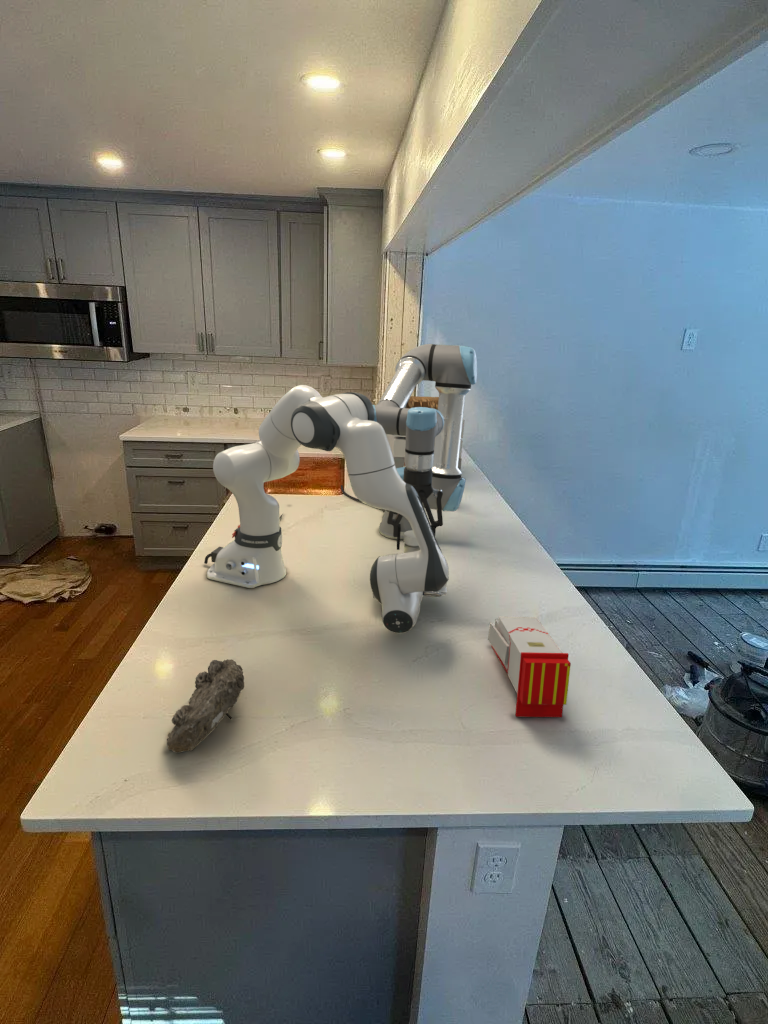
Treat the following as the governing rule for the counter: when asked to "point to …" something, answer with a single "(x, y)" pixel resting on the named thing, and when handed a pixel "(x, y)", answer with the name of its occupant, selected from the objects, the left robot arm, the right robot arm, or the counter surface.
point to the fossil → (206, 705)
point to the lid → (410, 538)
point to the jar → (410, 548)
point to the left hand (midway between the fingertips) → (411, 568)
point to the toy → (531, 665)
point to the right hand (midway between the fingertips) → (413, 548)
